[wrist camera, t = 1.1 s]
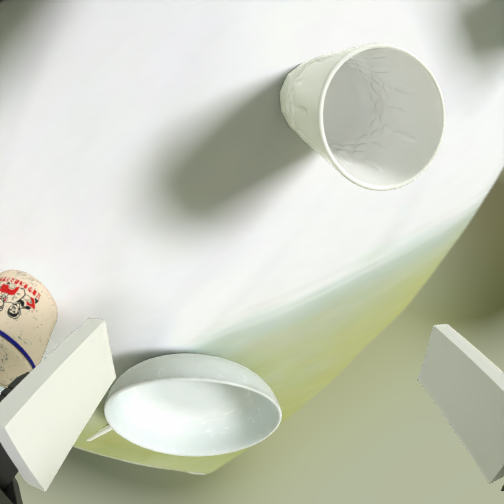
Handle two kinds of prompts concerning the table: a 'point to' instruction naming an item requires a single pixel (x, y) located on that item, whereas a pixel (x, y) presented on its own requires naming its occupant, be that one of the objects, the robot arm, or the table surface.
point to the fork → (100, 432)
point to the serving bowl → (192, 405)
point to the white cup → (367, 113)
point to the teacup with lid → (23, 323)
